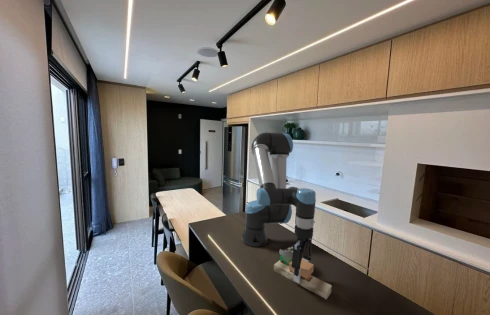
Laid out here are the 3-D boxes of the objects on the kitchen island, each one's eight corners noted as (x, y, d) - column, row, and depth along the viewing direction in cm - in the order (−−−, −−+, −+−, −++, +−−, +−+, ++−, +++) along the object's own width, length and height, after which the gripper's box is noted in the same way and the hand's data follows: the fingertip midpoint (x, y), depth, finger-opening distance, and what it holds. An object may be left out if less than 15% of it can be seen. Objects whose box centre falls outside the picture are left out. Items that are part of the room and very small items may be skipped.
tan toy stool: (288, 277, 87) (289, 263, 86) (295, 270, 92) (296, 256, 91) (306, 286, 81) (307, 271, 81) (312, 278, 86) (313, 264, 86)
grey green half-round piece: (287, 277, 89) (288, 255, 88) (278, 269, 94) (279, 249, 93) (306, 268, 96) (307, 248, 95) (296, 261, 101) (297, 242, 100)
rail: (273, 270, 93) (274, 264, 92) (279, 265, 96) (279, 259, 96) (326, 299, 77) (327, 292, 76) (331, 292, 80) (331, 285, 80)
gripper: (301, 236, 75) (298, 294, 77) (321, 222, 89) (318, 271, 91) (284, 230, 80) (281, 284, 82) (305, 217, 94) (302, 263, 96)
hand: (300, 277), depth 86 cm, fingers closed on tan toy stool, 7 cm apart
